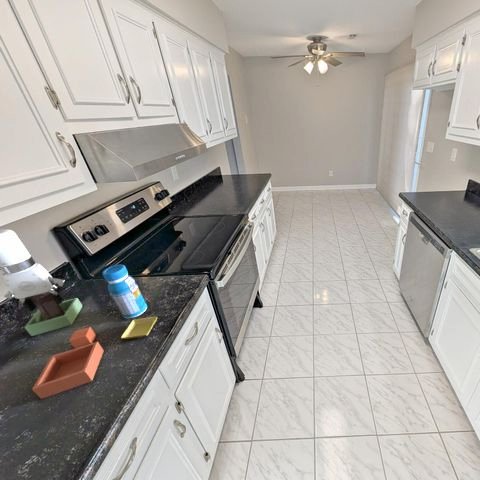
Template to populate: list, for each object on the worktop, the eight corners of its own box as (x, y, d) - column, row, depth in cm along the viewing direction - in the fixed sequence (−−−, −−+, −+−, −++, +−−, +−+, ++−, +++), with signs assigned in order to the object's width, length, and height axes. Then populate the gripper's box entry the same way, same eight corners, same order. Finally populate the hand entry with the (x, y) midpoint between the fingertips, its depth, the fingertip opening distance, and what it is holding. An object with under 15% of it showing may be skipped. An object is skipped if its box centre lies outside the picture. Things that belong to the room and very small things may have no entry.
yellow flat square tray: (159, 320, 94) (157, 315, 93) (149, 338, 86) (146, 334, 85) (135, 323, 93) (132, 319, 92) (122, 342, 86) (119, 338, 85)
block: (75, 350, 84) (68, 340, 82) (80, 340, 88) (74, 331, 85) (92, 345, 85) (85, 335, 83) (96, 335, 89) (90, 326, 87)
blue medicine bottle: (127, 322, 94) (102, 279, 85) (119, 313, 98) (95, 271, 89) (151, 309, 100) (131, 267, 90) (143, 301, 104) (122, 260, 95)
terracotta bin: (41, 399, 69) (31, 389, 67) (59, 365, 79) (51, 355, 77) (92, 381, 73) (84, 371, 71) (104, 351, 83) (97, 341, 81)
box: (69, 317, 98) (52, 292, 92) (54, 325, 94) (36, 300, 89) (61, 313, 100) (43, 289, 94) (46, 321, 96) (28, 296, 91)
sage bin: (31, 336, 91) (24, 327, 88) (47, 315, 100) (40, 307, 98) (71, 325, 95) (65, 316, 92) (82, 306, 104) (77, 297, 102)
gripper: (-25, 278, 80) (11, 320, 88) (46, 263, 85) (73, 303, 94) (-9, 267, 86) (23, 306, 94) (56, 253, 92) (80, 292, 100)
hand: (47, 304), depth 94 cm, fingers open, 7 cm apart
